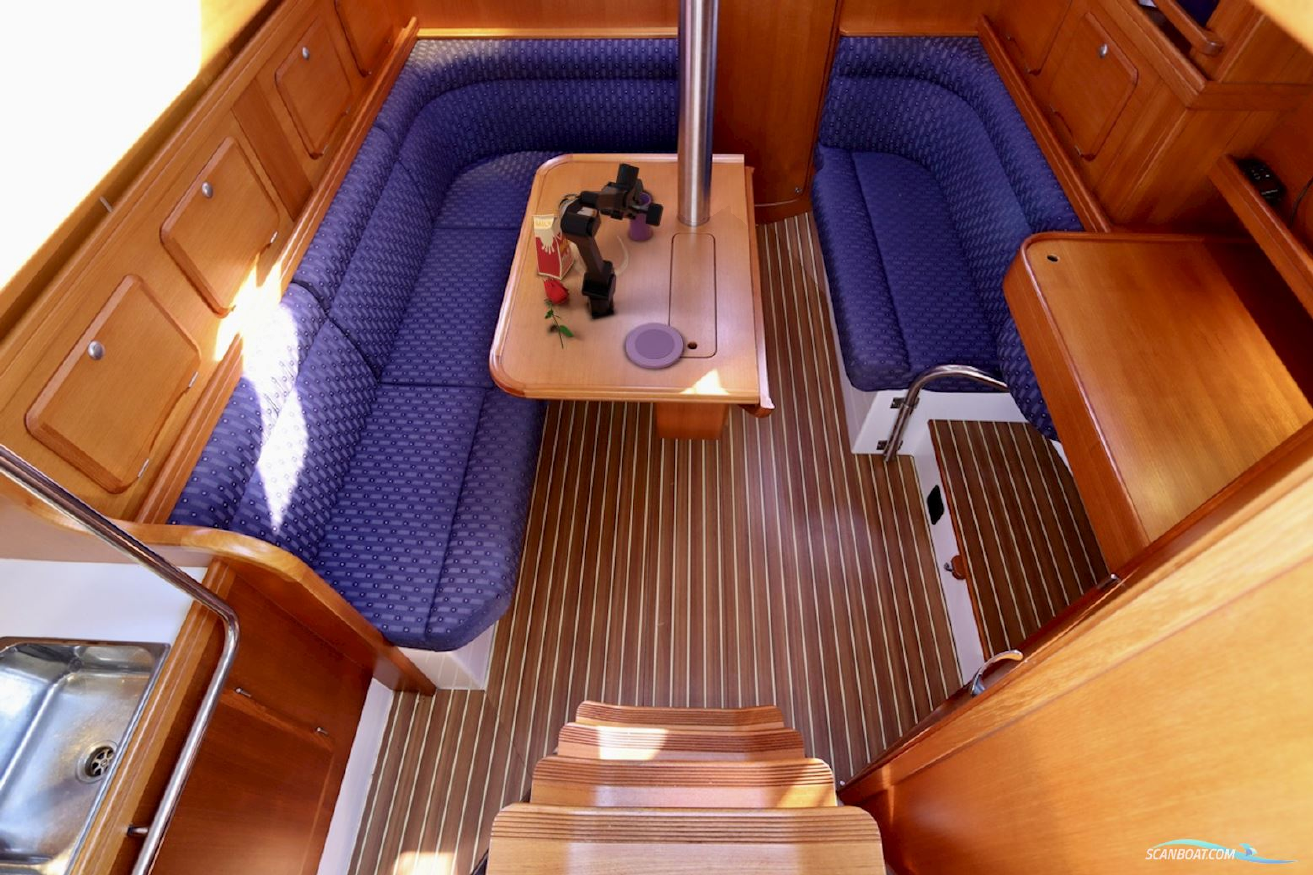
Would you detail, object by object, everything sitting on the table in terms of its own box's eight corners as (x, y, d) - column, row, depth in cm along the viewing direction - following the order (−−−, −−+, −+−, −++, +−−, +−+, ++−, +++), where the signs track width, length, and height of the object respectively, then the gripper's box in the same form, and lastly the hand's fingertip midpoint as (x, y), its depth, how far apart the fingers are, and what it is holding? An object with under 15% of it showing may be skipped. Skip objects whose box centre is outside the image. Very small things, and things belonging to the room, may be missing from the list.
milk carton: (574, 261, 201) (567, 206, 184) (562, 280, 196) (553, 225, 180) (547, 254, 203) (537, 199, 186) (534, 273, 198) (524, 218, 181)
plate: (636, 375, 176) (636, 371, 174) (618, 334, 184) (618, 330, 183) (691, 360, 179) (691, 356, 178) (671, 320, 187) (671, 316, 186)
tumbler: (633, 242, 206) (632, 208, 195) (627, 229, 209) (625, 195, 199) (653, 238, 207) (653, 203, 196) (646, 225, 211) (646, 190, 200)
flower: (570, 328, 170) (553, 260, 188) (541, 346, 172) (527, 277, 190) (589, 347, 177) (571, 280, 195) (561, 364, 179) (546, 297, 197)
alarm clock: (564, 225, 206) (552, 191, 211) (565, 236, 210) (553, 202, 216) (598, 218, 208) (585, 184, 213) (598, 229, 212) (585, 195, 218)
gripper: (661, 182, 182) (672, 193, 197) (599, 169, 185) (615, 181, 200) (653, 223, 184) (664, 230, 199) (592, 209, 187) (607, 218, 202)
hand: (638, 214), depth 200 cm, fingers open, 9 cm apart
